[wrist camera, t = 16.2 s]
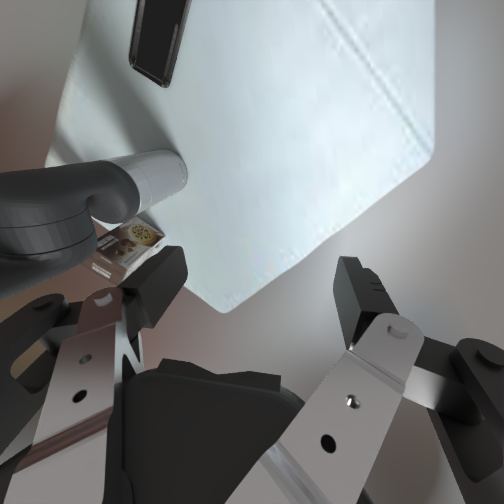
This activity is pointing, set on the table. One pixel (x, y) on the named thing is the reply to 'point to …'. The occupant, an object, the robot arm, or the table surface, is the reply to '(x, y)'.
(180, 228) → the table surface
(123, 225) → the coffee box
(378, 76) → the table surface
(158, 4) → the phone
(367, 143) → the table surface
